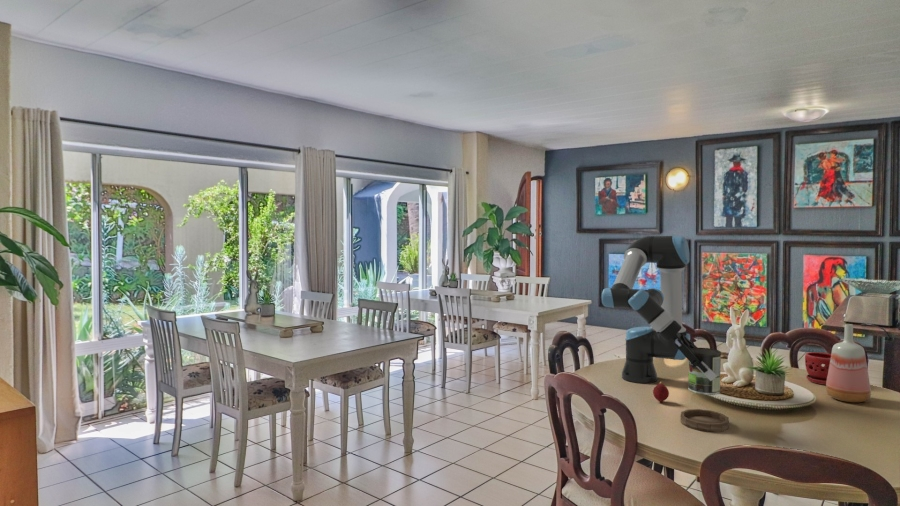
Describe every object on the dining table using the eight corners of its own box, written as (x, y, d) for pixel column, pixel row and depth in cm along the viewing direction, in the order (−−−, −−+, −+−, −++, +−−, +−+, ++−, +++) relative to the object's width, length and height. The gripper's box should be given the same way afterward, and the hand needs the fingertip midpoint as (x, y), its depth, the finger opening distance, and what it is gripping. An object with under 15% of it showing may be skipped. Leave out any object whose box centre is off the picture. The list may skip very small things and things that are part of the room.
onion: (670, 404, 216) (670, 384, 216) (654, 404, 217) (654, 383, 217) (667, 400, 222) (667, 380, 222) (652, 399, 223) (652, 379, 223)
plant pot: (842, 388, 234) (843, 359, 234) (805, 383, 241) (806, 356, 240) (839, 380, 246) (839, 353, 245) (803, 376, 252) (804, 350, 252)
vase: (829, 402, 216) (830, 326, 215) (822, 392, 229) (824, 320, 228) (874, 407, 210) (876, 329, 209) (865, 396, 223) (867, 322, 222)
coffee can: (697, 395, 189) (698, 354, 189) (682, 387, 200) (683, 347, 199) (726, 394, 190) (727, 353, 190) (710, 386, 200) (710, 347, 200)
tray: (682, 414, 206) (682, 407, 206) (728, 419, 199) (728, 412, 199) (679, 427, 192) (679, 420, 192) (728, 434, 186) (728, 426, 185)
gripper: (661, 327, 211) (706, 373, 205) (654, 339, 190) (704, 390, 184) (676, 314, 208) (722, 360, 202) (671, 324, 188) (722, 375, 182)
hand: (714, 374), depth 193 cm, fingers closed on coffee can, 10 cm apart
